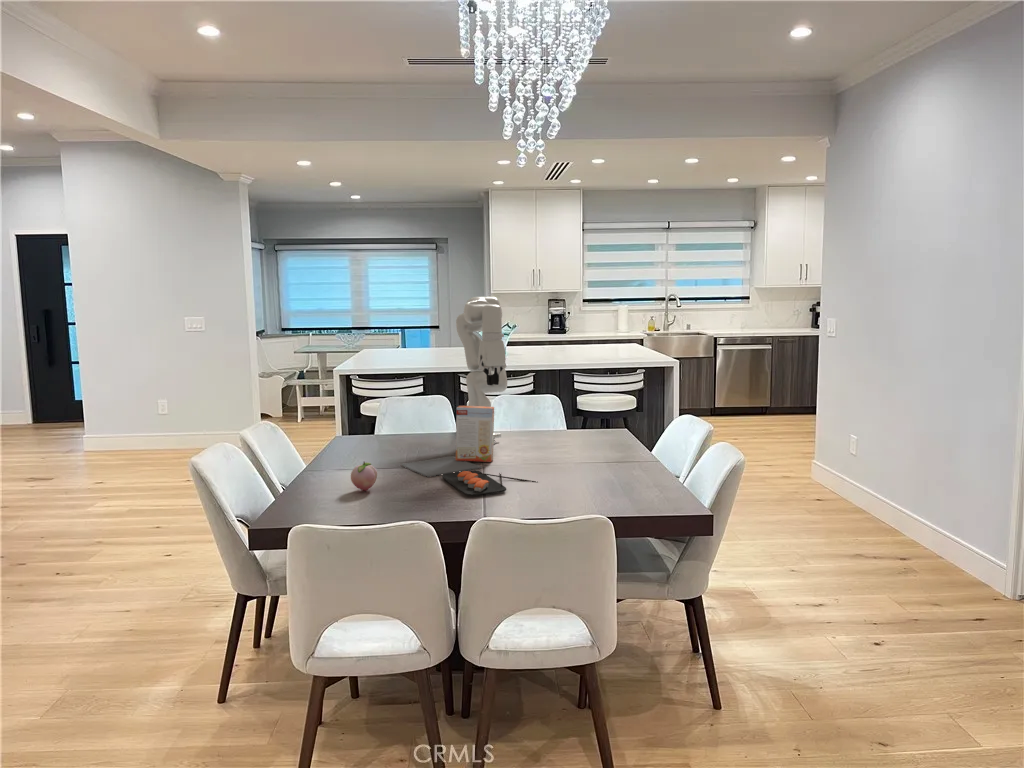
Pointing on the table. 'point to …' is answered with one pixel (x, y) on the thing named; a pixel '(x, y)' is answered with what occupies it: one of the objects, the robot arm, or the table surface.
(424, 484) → the table surface
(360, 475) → the decorative fruit
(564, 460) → the table surface
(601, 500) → the table surface
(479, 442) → the cracker box
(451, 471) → the mat
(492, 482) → the sushi plate
